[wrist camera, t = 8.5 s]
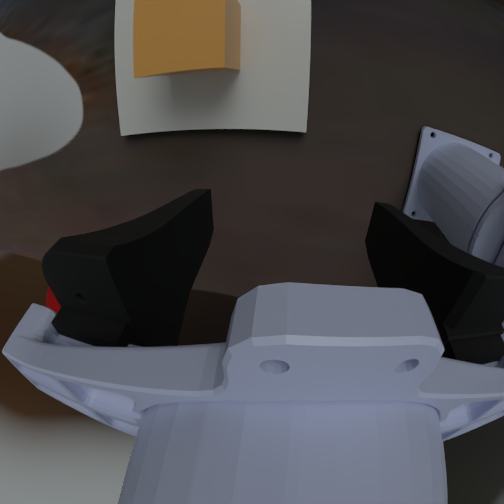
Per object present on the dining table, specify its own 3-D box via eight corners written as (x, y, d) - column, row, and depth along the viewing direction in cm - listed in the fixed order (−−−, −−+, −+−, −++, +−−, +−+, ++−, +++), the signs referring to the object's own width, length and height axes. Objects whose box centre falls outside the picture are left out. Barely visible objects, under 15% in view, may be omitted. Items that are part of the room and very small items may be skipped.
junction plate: (308, -38, 9) (314, -62, 6) (305, 129, 18) (310, 142, 14) (123, -17, 11) (94, -27, 7) (127, 132, 19) (98, 147, 16)
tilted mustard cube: (241, 5, 12) (225, -17, 8) (240, 70, 15) (224, 67, 11) (168, 14, 12) (134, 0, 8) (169, 75, 15) (134, 78, 11)
